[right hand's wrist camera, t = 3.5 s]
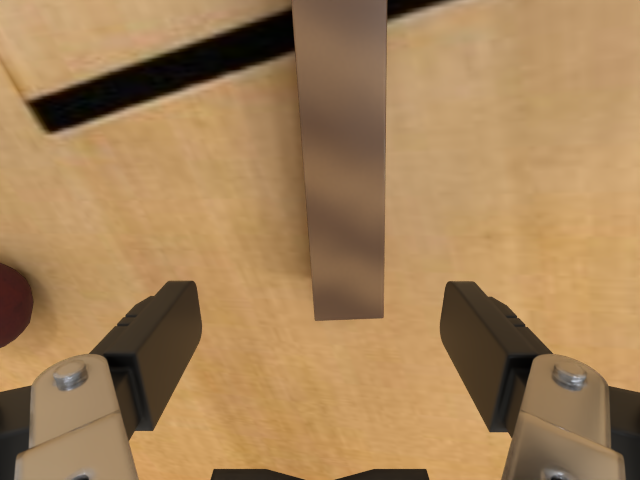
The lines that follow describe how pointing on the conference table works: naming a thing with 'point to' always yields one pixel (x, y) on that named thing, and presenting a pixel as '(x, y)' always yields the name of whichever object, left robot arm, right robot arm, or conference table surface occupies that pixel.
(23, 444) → the right robot arm
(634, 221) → the conference table surface
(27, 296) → the potato
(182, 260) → the conference table surface
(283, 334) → the conference table surface
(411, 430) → the conference table surface
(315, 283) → the post
